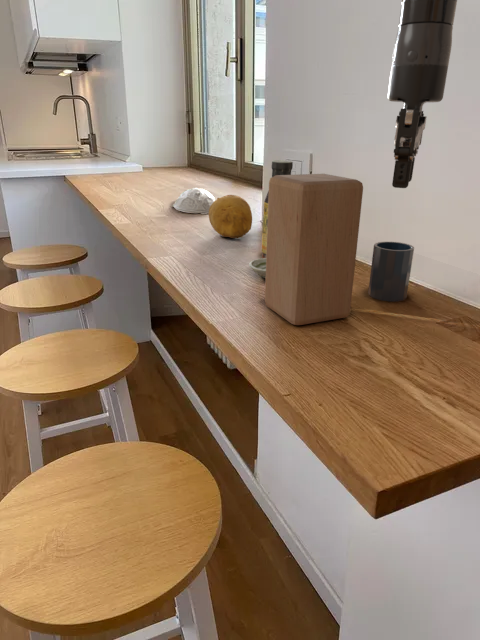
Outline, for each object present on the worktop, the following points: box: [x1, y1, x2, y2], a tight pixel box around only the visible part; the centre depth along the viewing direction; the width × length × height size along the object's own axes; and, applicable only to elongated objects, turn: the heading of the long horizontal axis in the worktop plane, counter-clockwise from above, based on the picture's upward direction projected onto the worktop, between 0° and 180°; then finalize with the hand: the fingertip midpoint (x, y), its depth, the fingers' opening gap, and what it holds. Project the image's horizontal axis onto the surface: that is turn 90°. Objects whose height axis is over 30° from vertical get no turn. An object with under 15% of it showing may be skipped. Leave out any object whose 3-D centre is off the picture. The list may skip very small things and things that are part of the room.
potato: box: [208, 194, 253, 240], centre depth 122 cm, size 10×12×10 cm
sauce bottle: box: [261, 159, 294, 258], centre depth 100 cm, size 7×6×20 cm
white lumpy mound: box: [172, 187, 217, 215], centre depth 161 cm, size 16×25×7 cm, turn 7°
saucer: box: [248, 257, 266, 279], centre depth 93 cm, size 10×10×2 cm
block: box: [264, 173, 364, 326], centre depth 72 cm, size 10×10×20 cm
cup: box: [367, 241, 415, 302], centre depth 80 cm, size 6×6×9 cm
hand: (402, 184), depth 75 cm, fingers open, 8 cm apart
